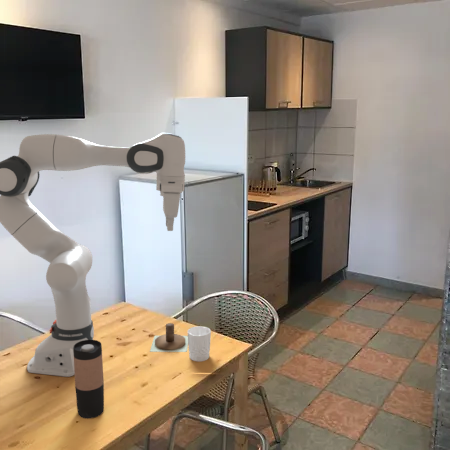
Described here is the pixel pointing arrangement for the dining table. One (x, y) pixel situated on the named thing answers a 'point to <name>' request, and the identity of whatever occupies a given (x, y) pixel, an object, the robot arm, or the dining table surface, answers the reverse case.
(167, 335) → the lid
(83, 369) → the travel mug
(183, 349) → the mat
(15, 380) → the dining table surface
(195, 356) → the white cup
